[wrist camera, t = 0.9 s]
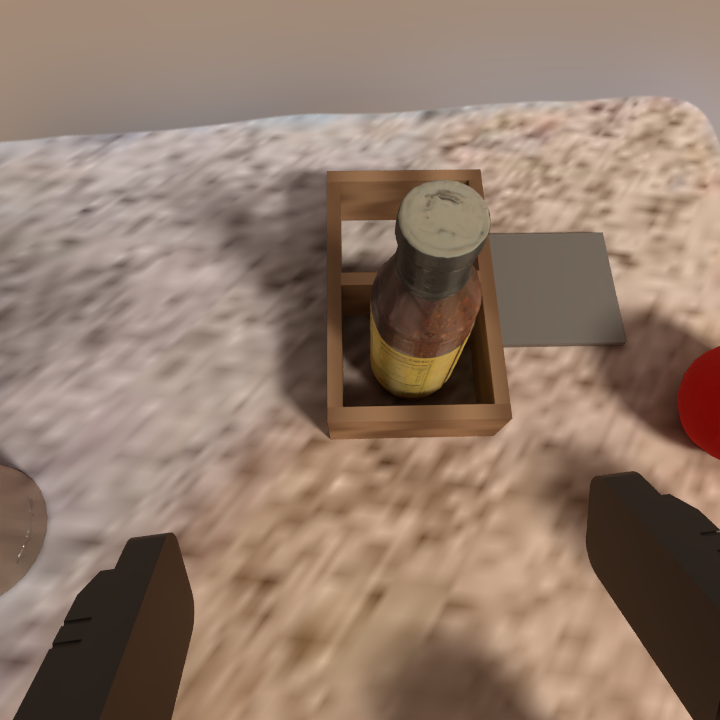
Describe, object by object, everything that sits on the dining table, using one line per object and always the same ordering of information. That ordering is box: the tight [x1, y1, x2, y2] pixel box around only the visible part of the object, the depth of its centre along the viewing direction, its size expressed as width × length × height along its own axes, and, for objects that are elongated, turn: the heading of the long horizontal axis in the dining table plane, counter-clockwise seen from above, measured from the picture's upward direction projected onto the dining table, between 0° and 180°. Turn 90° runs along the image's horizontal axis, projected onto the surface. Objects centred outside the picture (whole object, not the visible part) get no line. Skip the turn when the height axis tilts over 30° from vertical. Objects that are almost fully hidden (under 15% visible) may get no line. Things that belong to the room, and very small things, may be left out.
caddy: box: [327, 170, 512, 439], centre depth 41 cm, size 12×20×5 cm, turn 1°
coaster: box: [489, 233, 626, 347], centre depth 44 cm, size 10×10×1 cm
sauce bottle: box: [370, 180, 491, 400], centre depth 32 cm, size 6×6×20 cm
